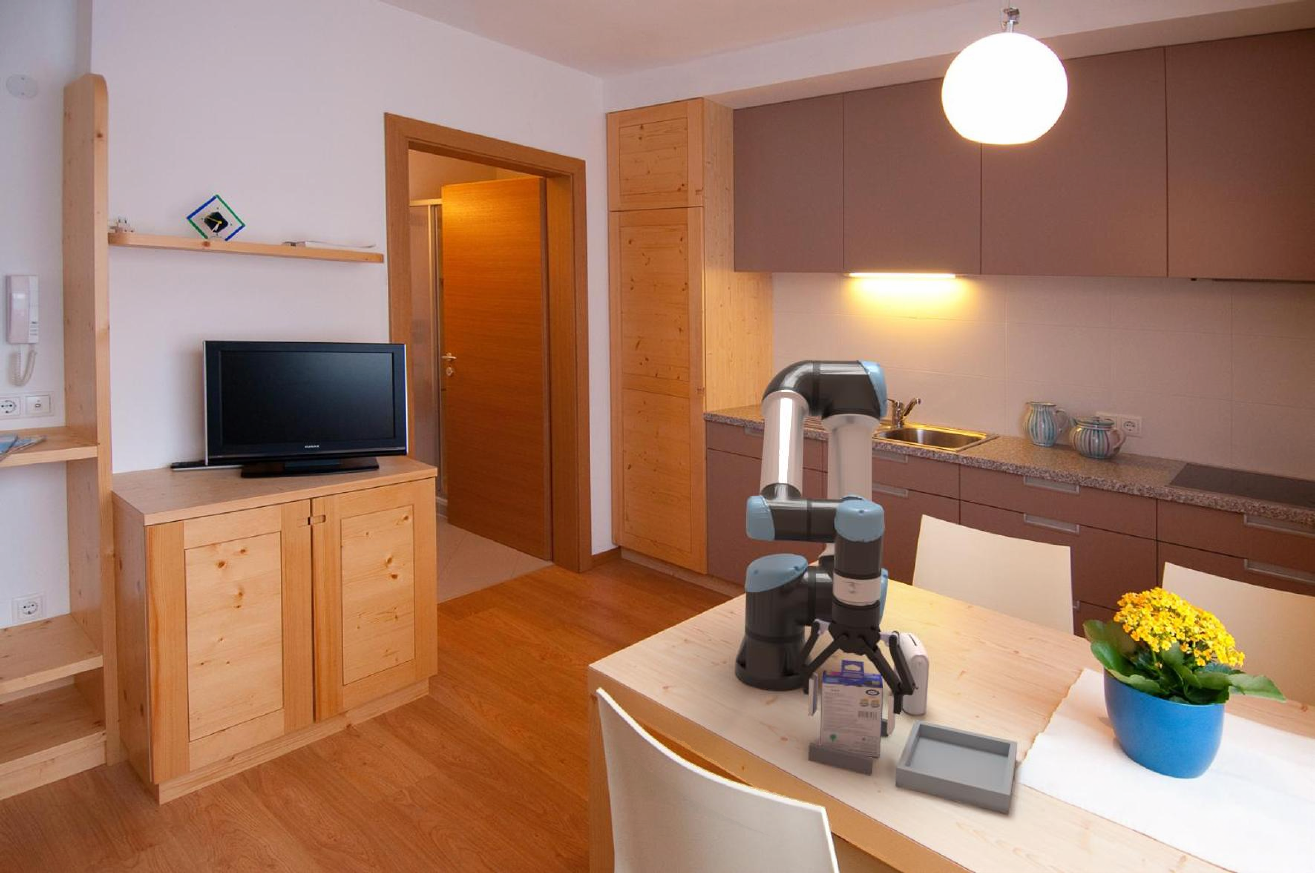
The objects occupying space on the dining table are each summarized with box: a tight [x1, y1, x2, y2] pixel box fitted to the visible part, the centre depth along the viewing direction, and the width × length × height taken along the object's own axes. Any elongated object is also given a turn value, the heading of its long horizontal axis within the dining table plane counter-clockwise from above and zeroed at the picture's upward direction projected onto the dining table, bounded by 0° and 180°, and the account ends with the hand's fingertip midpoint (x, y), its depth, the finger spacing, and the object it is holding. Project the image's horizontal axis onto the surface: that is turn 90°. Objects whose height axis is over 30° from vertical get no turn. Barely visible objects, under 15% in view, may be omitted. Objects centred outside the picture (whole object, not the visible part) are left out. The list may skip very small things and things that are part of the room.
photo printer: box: [893, 632, 930, 716], centre depth 155 cm, size 10×4×12 cm, turn 179°
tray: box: [895, 719, 1018, 814], centre depth 133 cm, size 16×16×3 cm
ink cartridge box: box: [819, 659, 884, 758], centre depth 140 cm, size 10×6×14 cm, turn 79°
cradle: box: [807, 717, 890, 776], centre depth 141 cm, size 10×14×2 cm
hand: (850, 721), depth 140 cm, fingers open, 12 cm apart
